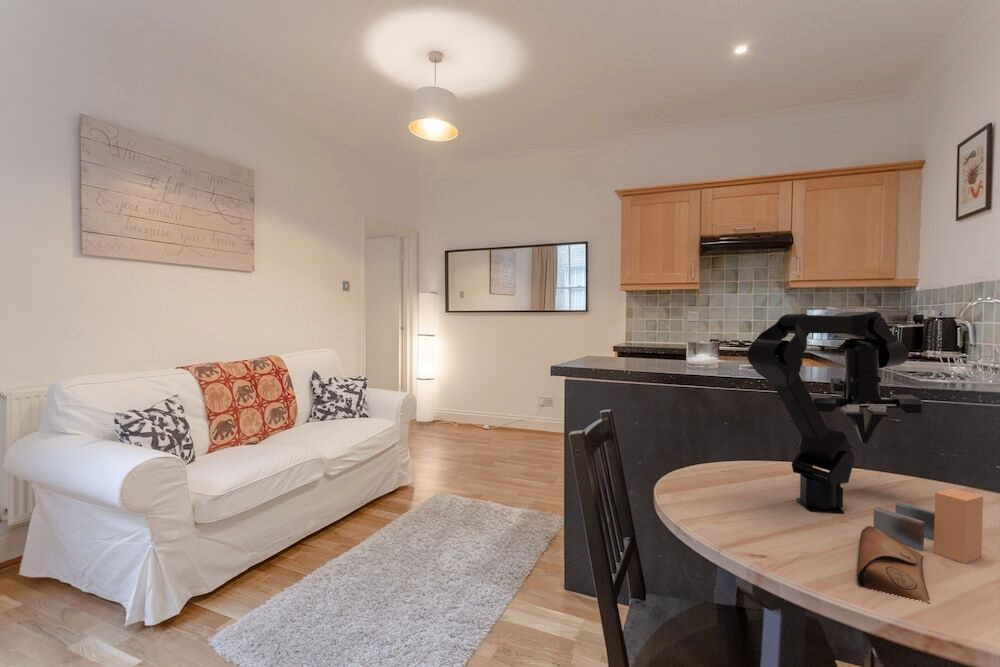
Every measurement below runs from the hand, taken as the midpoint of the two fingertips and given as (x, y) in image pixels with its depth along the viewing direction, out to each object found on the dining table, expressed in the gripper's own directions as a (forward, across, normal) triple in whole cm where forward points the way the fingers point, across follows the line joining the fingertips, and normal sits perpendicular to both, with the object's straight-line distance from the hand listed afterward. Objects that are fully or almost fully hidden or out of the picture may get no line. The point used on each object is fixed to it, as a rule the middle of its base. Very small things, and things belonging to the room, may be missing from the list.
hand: (864, 443), depth 103 cm
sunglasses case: (+11, +5, +34) cm, 36 cm away
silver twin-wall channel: (+11, -1, +20) cm, 23 cm away
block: (+11, -6, +24) cm, 28 cm away
